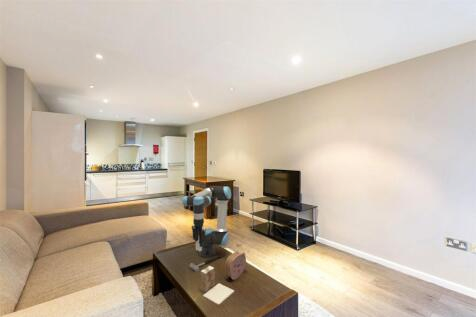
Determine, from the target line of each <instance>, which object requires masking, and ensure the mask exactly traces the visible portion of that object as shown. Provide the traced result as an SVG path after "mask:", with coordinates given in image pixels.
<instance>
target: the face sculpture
mask: <svg viewBox="0 0 476 317" xmlns="http://www.w3.org/2000/svg"><path fill="white" fill-rule="evenodd" d="M246 266H247V258H246V253H245V252H242V253H240V252H239V251H235V252H233V253H231V254H230V255H228V257H227V258H226V261H225V265H224V270H225V276H226V277H227V278H229V279H231V280H233V281H234V280H237V279H238V278H239V277H240V276H241V275H243V273H244V271H245V268H246Z"/></svg>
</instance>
